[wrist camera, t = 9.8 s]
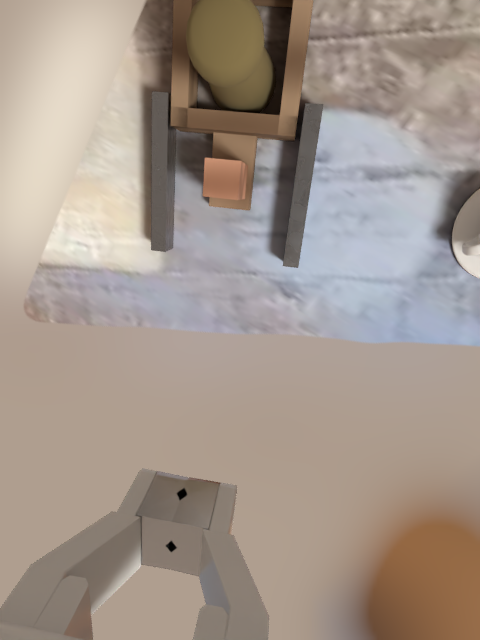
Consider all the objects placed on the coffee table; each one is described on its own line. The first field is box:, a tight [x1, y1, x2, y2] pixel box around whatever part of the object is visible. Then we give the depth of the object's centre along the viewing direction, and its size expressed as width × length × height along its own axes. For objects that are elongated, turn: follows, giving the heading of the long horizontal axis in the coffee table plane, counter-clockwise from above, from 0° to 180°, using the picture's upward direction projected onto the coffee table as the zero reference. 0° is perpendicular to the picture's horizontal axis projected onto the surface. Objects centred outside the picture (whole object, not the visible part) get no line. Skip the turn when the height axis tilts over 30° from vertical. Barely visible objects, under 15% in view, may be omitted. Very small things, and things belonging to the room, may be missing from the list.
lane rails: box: [151, 91, 323, 268], centre depth 34 cm, size 14×15×2 cm
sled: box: [171, 0, 313, 210], centre depth 30 cm, size 18×11×6 cm, turn 174°
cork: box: [186, 0, 276, 114], centre depth 27 cm, size 6×6×11 cm
